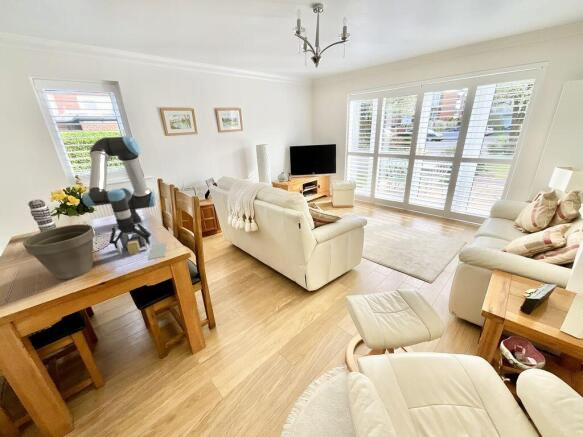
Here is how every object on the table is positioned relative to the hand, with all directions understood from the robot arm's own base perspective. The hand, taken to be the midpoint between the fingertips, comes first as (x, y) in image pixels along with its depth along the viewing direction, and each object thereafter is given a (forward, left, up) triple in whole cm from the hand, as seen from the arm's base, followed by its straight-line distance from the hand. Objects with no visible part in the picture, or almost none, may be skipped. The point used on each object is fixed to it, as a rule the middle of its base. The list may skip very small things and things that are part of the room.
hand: (134, 250), depth 140 cm
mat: (+5, +13, -1) cm, 14 cm away
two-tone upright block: (-5, 0, -1) cm, 5 cm away
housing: (-8, 0, -1) cm, 8 cm away
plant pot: (+10, -25, -1) cm, 27 cm away
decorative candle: (-55, -61, -1) cm, 82 cm away
